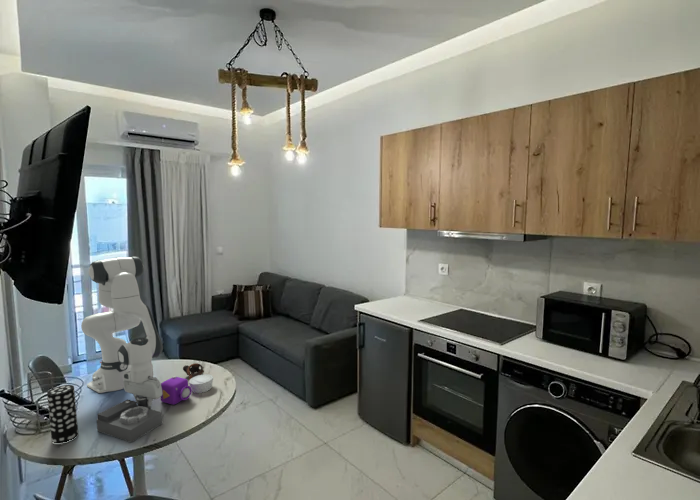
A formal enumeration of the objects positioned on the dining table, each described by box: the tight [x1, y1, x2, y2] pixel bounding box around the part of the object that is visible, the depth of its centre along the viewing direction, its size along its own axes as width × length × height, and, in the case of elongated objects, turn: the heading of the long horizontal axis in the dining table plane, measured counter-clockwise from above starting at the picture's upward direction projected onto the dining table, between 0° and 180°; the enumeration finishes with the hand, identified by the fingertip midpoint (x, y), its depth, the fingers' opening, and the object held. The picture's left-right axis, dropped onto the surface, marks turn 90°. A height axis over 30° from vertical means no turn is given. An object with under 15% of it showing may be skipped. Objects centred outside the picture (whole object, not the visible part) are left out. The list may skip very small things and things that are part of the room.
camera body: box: [96, 399, 163, 443], centre depth 154 cm, size 20×14×8 cm
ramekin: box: [188, 373, 214, 394], centre depth 187 cm, size 11×11×5 cm
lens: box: [137, 395, 152, 409], centre depth 167 cm, size 5×5×7 cm
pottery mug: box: [182, 362, 205, 380], centre depth 201 cm, size 12×10×8 cm
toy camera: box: [160, 375, 193, 405], centre depth 175 cm, size 11×14×10 cm
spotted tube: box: [46, 384, 79, 443], centre depth 146 cm, size 8×8×20 cm
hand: (144, 404), depth 167 cm, fingers closed on lens, 5 cm apart
